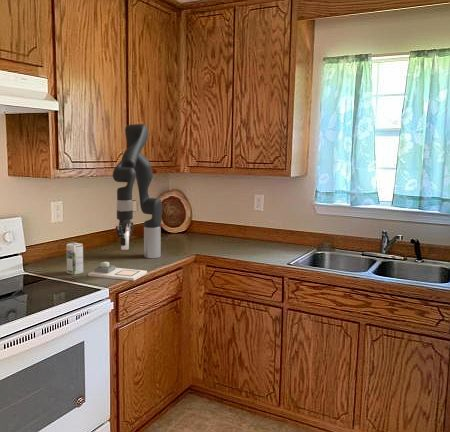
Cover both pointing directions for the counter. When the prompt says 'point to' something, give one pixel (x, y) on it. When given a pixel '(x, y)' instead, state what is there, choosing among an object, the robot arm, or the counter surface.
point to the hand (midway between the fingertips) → (125, 244)
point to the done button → (104, 264)
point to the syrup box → (74, 258)
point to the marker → (126, 240)
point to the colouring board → (117, 273)
